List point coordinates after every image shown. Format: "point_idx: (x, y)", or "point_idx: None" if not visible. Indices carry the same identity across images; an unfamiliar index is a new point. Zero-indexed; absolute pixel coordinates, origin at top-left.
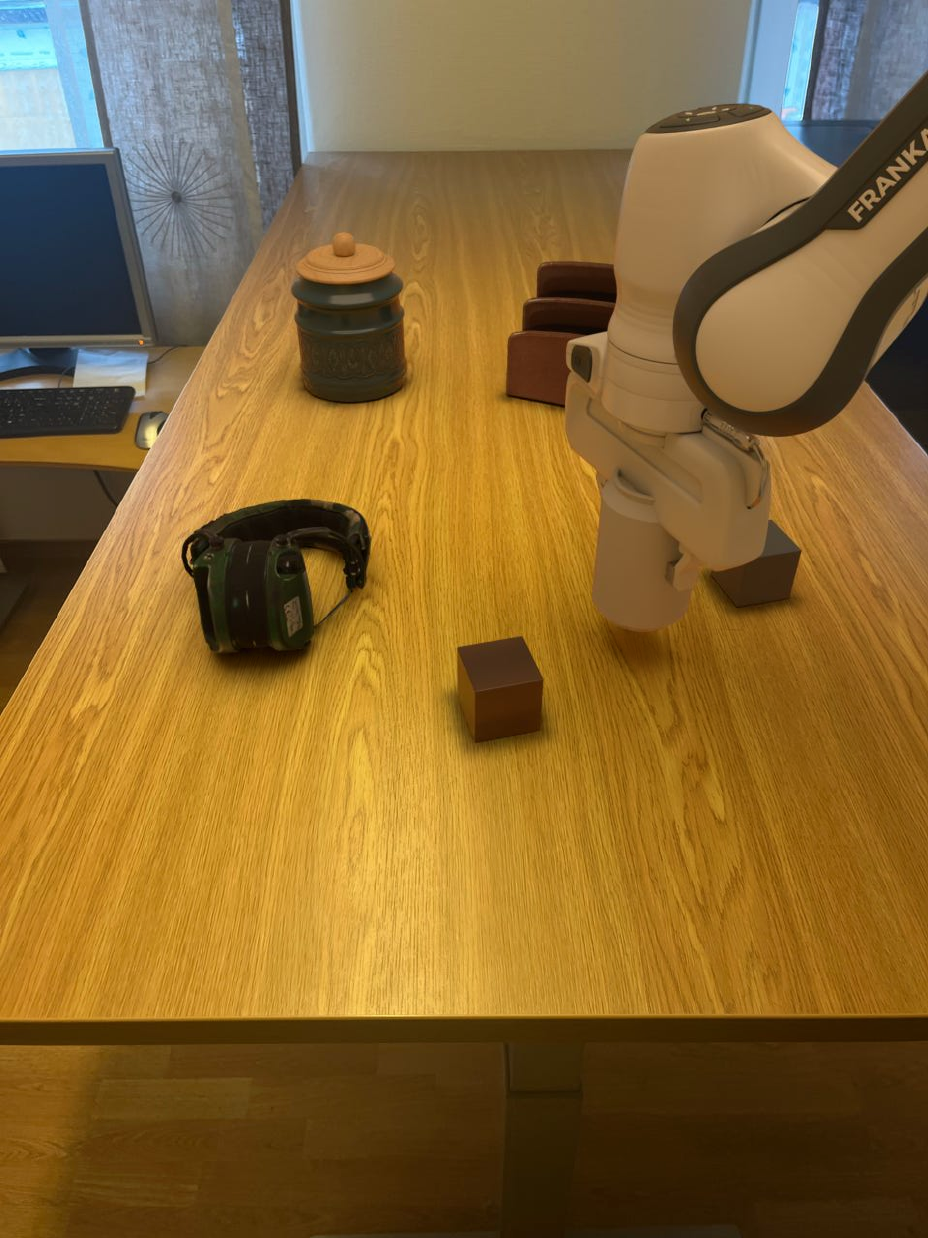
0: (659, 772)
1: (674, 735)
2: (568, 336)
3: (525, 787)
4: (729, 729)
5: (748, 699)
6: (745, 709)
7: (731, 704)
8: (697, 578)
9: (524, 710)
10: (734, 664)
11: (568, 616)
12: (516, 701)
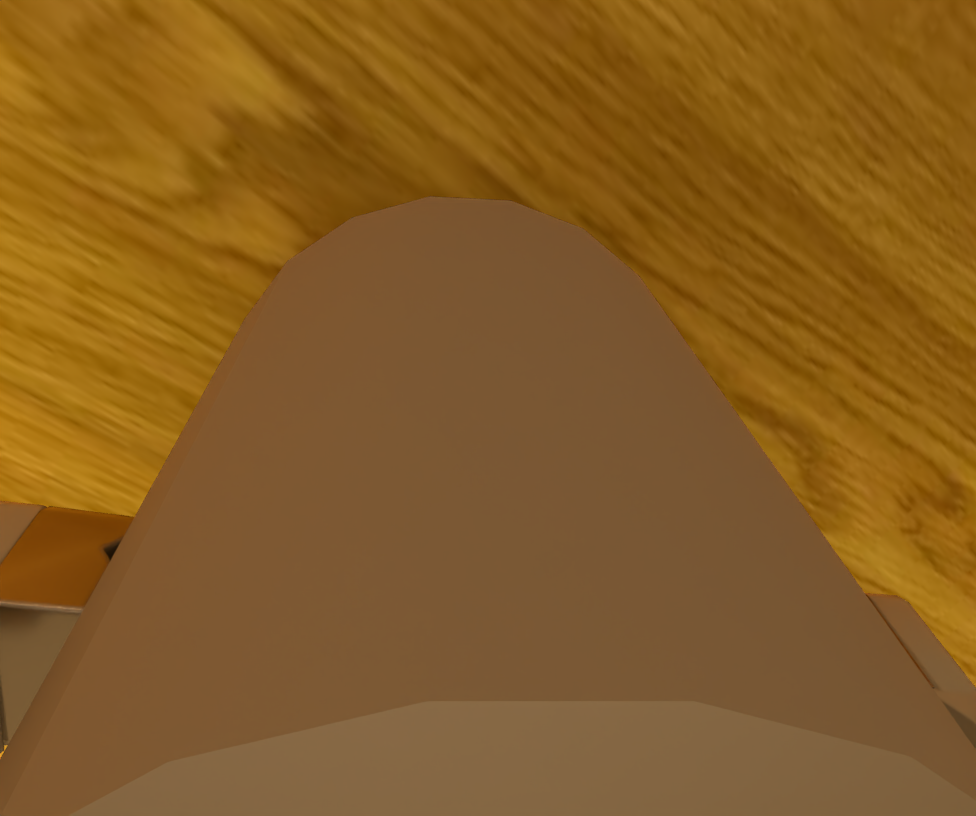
0: (877, 592)
1: (830, 487)
2: None
3: None
4: (941, 346)
5: (920, 188)
6: (936, 236)
7: (887, 257)
8: (921, 621)
9: None
10: (777, 76)
11: (185, 407)
12: None
